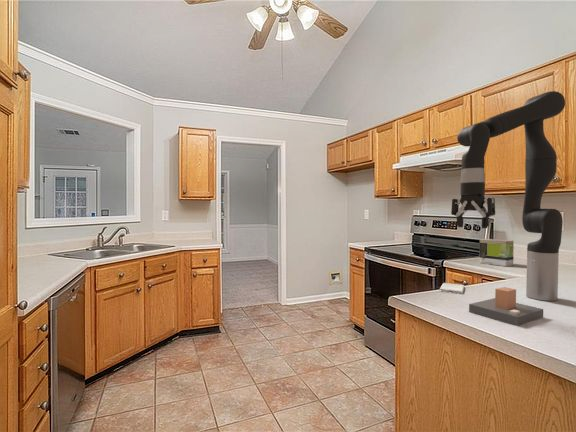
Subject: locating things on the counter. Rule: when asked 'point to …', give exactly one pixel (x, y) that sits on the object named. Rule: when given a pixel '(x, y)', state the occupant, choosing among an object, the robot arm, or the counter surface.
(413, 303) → the counter surface
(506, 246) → the tea box
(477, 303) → the socket board
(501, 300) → the plug
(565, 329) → the counter surface
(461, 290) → the hard drive
